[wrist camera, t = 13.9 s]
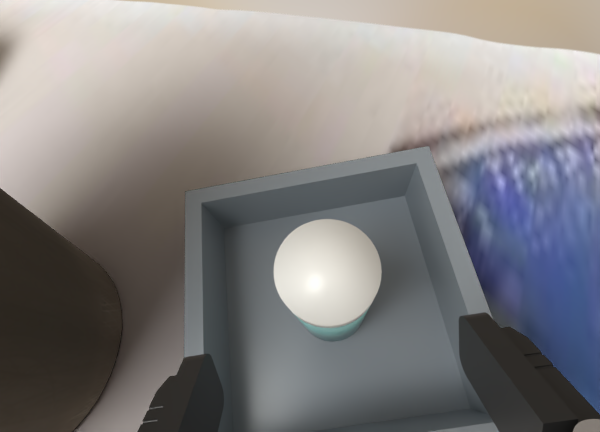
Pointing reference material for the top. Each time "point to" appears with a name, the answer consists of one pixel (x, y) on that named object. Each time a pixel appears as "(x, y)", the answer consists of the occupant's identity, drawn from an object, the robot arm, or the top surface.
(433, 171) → the slate bin
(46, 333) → the waste basket
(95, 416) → the top surface
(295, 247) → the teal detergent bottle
